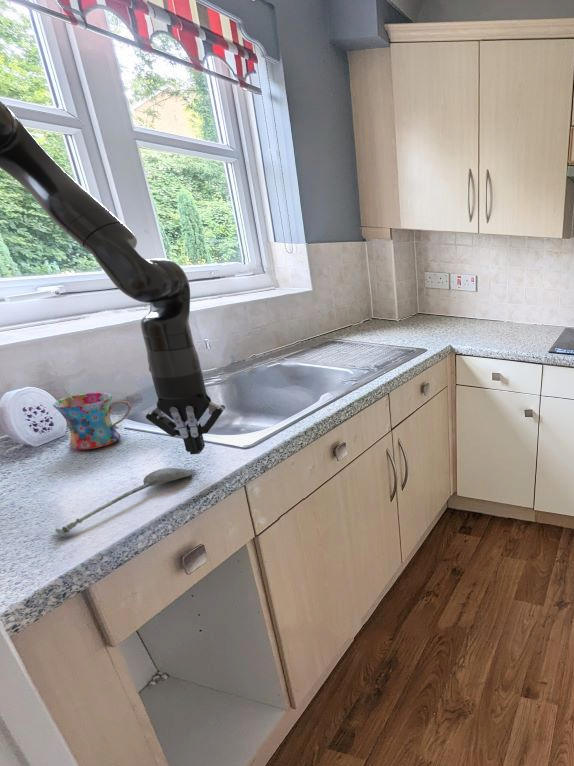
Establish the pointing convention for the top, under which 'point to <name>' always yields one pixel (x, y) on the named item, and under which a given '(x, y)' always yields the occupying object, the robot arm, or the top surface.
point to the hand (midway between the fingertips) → (196, 452)
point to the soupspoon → (149, 480)
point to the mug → (90, 419)
